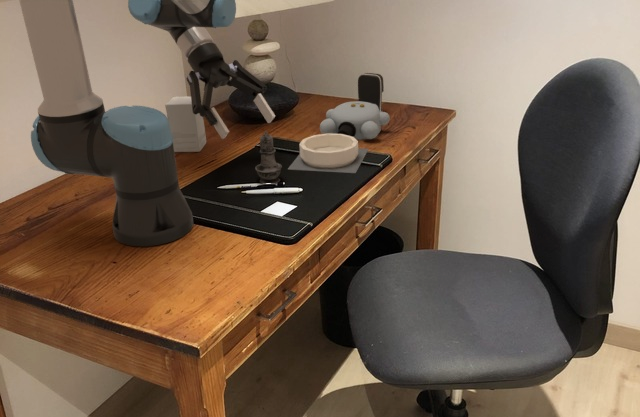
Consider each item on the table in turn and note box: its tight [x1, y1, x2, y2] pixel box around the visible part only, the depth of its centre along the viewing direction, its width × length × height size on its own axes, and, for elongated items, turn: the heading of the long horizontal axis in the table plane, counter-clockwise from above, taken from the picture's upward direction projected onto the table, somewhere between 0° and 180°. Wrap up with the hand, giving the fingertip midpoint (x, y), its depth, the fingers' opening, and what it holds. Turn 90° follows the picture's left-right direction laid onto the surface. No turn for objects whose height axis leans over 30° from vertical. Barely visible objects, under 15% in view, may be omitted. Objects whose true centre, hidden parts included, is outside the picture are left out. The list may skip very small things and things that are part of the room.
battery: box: [357, 72, 384, 112], centre depth 190 cm, size 7×4×11 cm, turn 61°
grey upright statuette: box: [255, 130, 283, 184], centre depth 146 cm, size 6×6×12 cm
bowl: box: [298, 133, 359, 168], centre depth 158 cm, size 13×13×4 cm
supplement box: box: [164, 95, 207, 153], centre depth 170 cm, size 7×7×13 cm
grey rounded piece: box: [319, 100, 391, 141], centre depth 174 cm, size 17×8×20 cm
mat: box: [287, 147, 369, 174], centre depth 159 cm, size 16×16×1 cm
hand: (249, 127), depth 150 cm, fingers open, 13 cm apart
